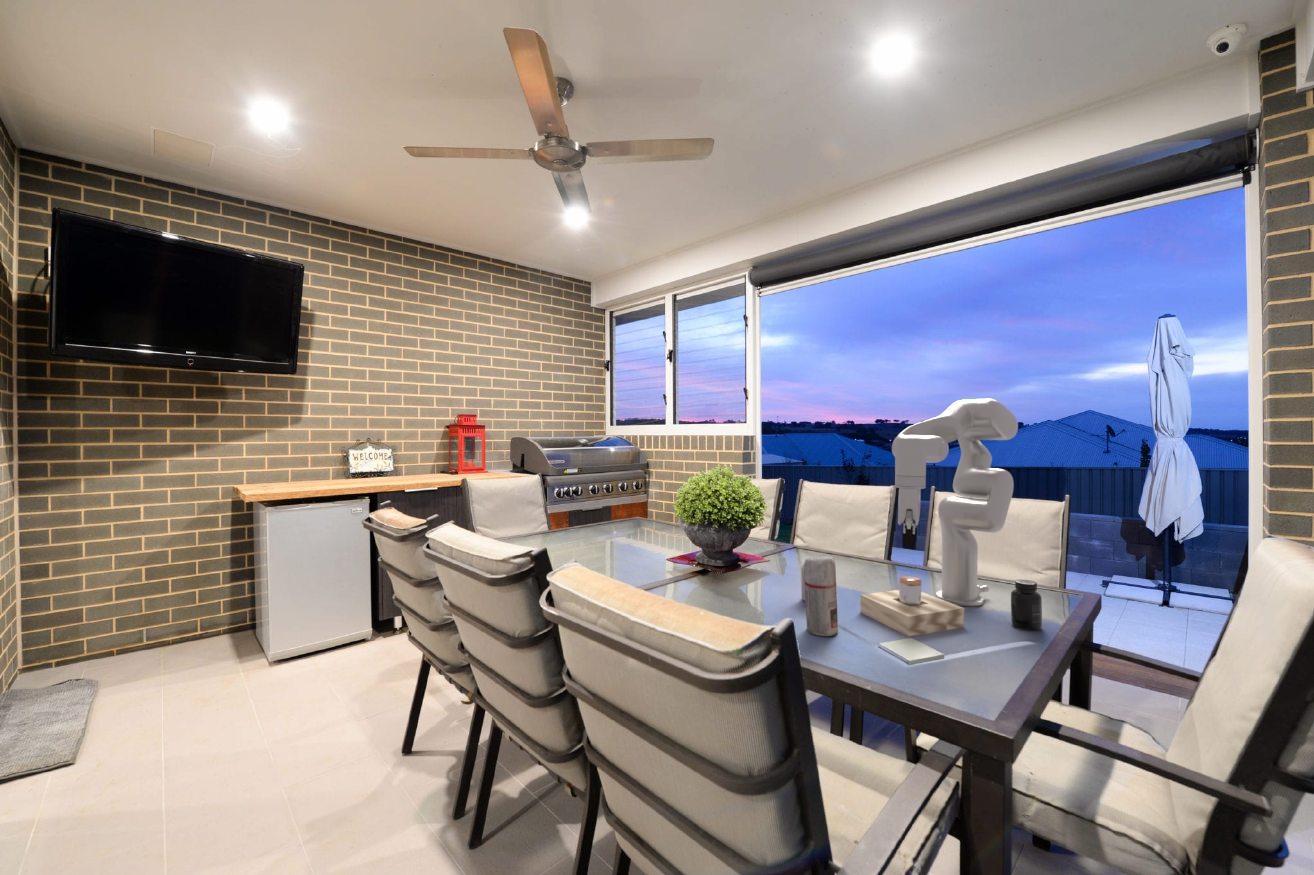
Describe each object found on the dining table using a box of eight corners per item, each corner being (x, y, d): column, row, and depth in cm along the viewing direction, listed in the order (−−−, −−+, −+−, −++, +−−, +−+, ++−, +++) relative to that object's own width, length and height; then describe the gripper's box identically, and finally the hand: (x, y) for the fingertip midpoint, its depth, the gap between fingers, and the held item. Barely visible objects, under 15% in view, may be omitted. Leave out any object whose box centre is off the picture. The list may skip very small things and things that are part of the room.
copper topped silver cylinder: (910, 614, 148) (910, 575, 148) (925, 621, 143) (925, 581, 143) (894, 617, 147) (894, 577, 146) (909, 624, 141) (909, 583, 141)
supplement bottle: (1036, 623, 144) (1037, 579, 143) (1046, 632, 137) (1046, 586, 137) (1007, 620, 146) (1007, 577, 146) (1015, 629, 140) (1015, 584, 139)
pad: (911, 641, 133) (911, 637, 133) (944, 658, 123) (944, 654, 123) (878, 647, 130) (878, 643, 130) (909, 665, 120) (909, 660, 120)
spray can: (821, 640, 134) (821, 561, 134) (798, 629, 142) (798, 554, 141) (845, 633, 138) (845, 557, 138) (822, 623, 145) (821, 550, 145)
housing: (911, 608, 156) (911, 588, 156) (964, 631, 139) (964, 608, 139) (860, 615, 151) (860, 594, 151) (908, 640, 134) (908, 616, 133)
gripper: (896, 478, 153) (896, 537, 154) (893, 484, 138) (892, 550, 138) (926, 479, 150) (925, 540, 150) (925, 486, 134) (924, 553, 135)
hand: (909, 545), depth 144 cm, fingers open, 9 cm apart
